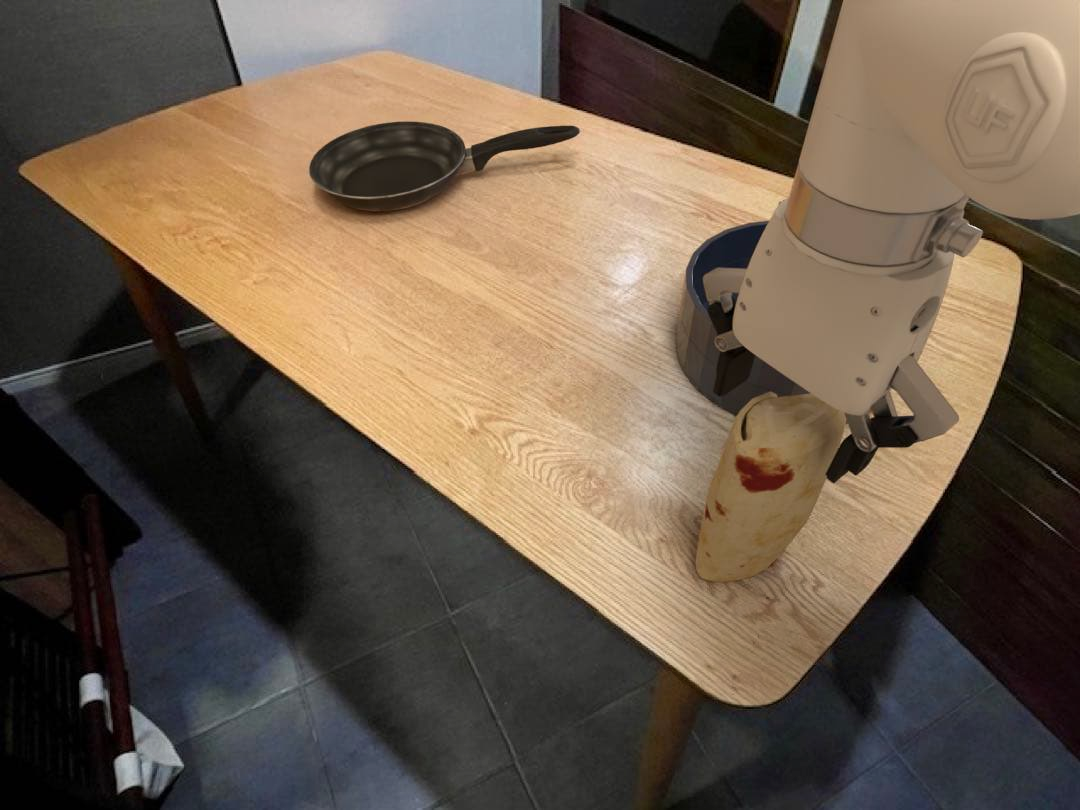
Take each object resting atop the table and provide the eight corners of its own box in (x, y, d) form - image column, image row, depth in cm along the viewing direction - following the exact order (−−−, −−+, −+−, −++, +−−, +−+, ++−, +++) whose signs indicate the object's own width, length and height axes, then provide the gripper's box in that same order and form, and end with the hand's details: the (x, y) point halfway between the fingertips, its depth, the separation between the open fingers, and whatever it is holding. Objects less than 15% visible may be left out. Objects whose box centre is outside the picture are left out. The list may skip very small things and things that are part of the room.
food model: (715, 611, 54) (766, 473, 40) (671, 549, 59) (703, 403, 44) (806, 564, 57) (886, 418, 42) (758, 508, 61) (815, 356, 46)
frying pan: (306, 232, 98) (291, 191, 93) (329, 154, 114) (318, 116, 109) (590, 209, 98) (590, 167, 93) (572, 135, 115) (571, 97, 110)
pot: (936, 360, 73) (976, 290, 66) (799, 468, 64) (828, 401, 57) (766, 265, 87) (784, 198, 79) (633, 342, 78) (639, 275, 70)
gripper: (1088, 256, 29) (929, 477, 41) (777, 124, 38) (726, 337, 51) (1000, 328, 26) (858, 541, 38) (687, 166, 35) (657, 381, 48)
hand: (783, 425), depth 45 cm, fingers open, 9 cm apart
